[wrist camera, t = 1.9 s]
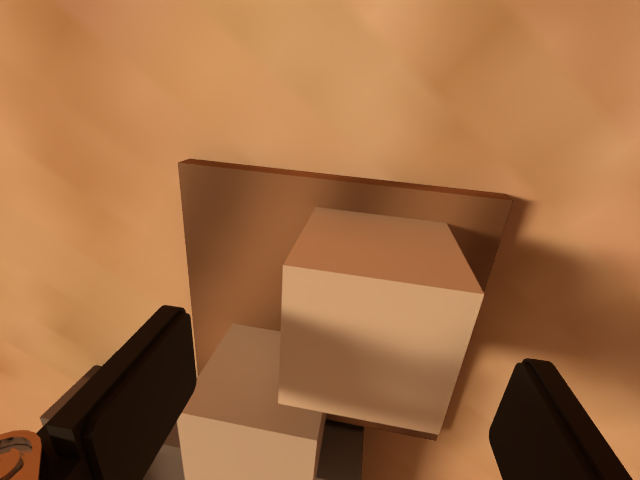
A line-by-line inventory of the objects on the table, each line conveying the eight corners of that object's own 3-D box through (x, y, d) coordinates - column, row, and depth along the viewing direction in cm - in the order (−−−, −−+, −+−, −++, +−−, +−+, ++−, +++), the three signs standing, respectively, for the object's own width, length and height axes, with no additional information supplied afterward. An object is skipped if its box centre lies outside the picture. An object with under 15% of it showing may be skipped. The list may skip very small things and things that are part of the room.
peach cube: (446, 223, 14) (484, 294, 9) (420, 330, 16) (439, 434, 11) (316, 206, 15) (283, 264, 10) (308, 311, 17) (278, 403, 12)
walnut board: (504, 194, 14) (512, 200, 13) (433, 424, 20) (435, 440, 19) (189, 158, 16) (177, 162, 15) (207, 381, 21) (199, 394, 20)
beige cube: (335, 340, 17) (317, 440, 12) (326, 415, 19) (307, 526, 14) (232, 323, 18) (175, 411, 13) (235, 398, 20) (187, 498, 15)
